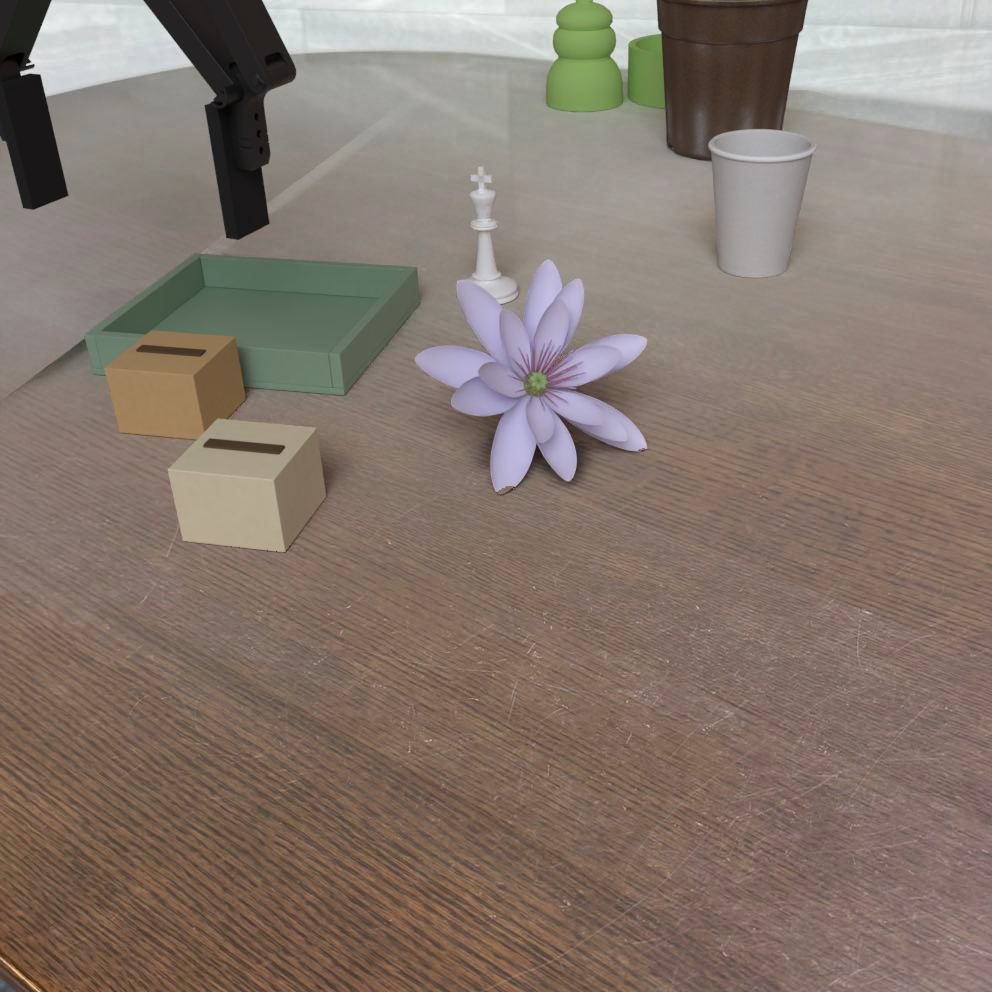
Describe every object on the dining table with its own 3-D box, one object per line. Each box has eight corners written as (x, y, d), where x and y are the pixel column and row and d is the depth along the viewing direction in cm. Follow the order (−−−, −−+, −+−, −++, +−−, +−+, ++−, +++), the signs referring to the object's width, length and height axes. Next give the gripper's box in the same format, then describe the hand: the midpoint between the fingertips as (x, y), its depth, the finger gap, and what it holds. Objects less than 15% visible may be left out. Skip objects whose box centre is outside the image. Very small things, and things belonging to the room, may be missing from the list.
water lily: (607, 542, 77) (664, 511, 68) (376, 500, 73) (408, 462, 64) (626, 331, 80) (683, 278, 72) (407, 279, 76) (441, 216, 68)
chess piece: (504, 309, 92) (499, 178, 87) (446, 302, 94) (437, 173, 88) (527, 286, 96) (524, 160, 91) (470, 280, 98) (464, 155, 92)
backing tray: (93, 374, 84) (83, 334, 82) (201, 288, 97) (194, 252, 96) (344, 395, 80) (339, 354, 78) (420, 303, 94) (417, 266, 92)
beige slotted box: (182, 541, 65) (166, 466, 63) (230, 486, 70) (216, 415, 68) (285, 553, 64) (273, 477, 62) (326, 496, 69) (316, 424, 66)
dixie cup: (690, 277, 97) (696, 151, 92) (716, 244, 104) (723, 125, 98) (793, 289, 95) (805, 160, 89) (813, 254, 101) (826, 132, 96)
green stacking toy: (723, 79, 157) (729, -26, 151) (761, 104, 145) (769, -9, 139) (536, 92, 154) (533, -16, 147) (559, 119, 142) (557, 3, 135)
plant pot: (785, 173, 121) (801, 0, 112) (630, 162, 126) (634, -6, 117) (809, 133, 134) (824, -25, 125) (667, 124, 138) (673, -29, 130)
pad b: (118, 433, 76) (102, 365, 74) (164, 392, 81) (150, 327, 79) (205, 441, 75) (192, 373, 73) (246, 399, 80) (235, 334, 77)
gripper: (335, -269, 51) (381, 221, 63) (-89, -254, 60) (19, 173, 72) (228, -272, 45) (299, 269, 57) (-224, -255, 54) (-83, 210, 66)
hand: (143, 216), depth 64 cm, fingers open, 13 cm apart
